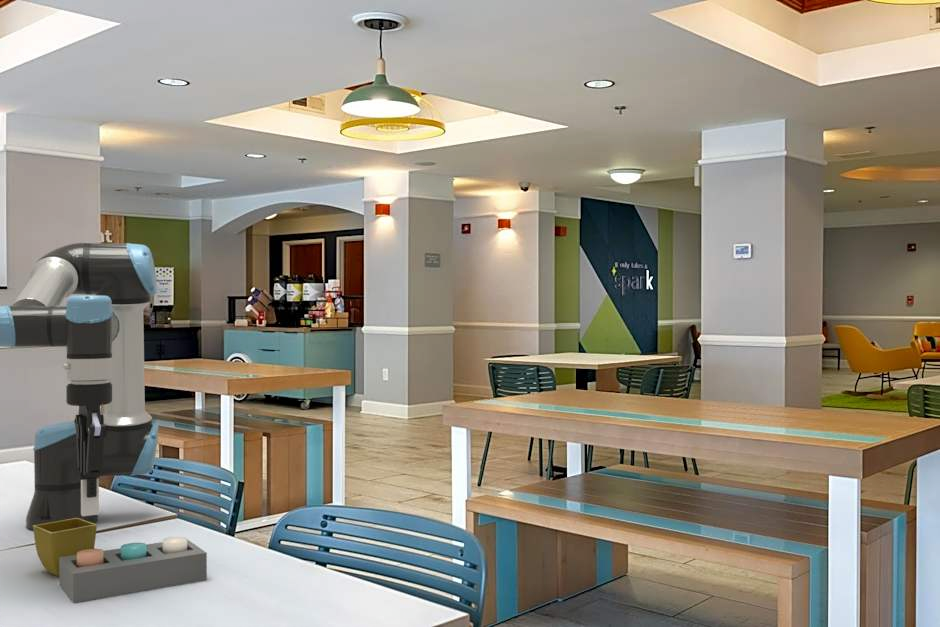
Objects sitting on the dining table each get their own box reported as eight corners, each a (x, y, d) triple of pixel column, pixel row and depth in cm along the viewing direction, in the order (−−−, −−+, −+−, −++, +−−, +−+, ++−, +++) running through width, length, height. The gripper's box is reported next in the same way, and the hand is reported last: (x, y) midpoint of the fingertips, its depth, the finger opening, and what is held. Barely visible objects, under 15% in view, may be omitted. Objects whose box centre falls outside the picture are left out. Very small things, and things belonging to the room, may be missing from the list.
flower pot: (32, 572, 173) (31, 524, 172) (77, 562, 179) (77, 516, 179) (51, 581, 167) (51, 532, 166) (98, 571, 173) (98, 524, 173)
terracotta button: (74, 569, 163) (74, 551, 162) (100, 565, 165) (100, 547, 165) (79, 575, 159) (79, 557, 159) (106, 571, 161) (106, 553, 161)
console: (59, 584, 165) (59, 557, 165) (186, 564, 178) (186, 538, 178) (73, 603, 155) (73, 573, 155) (206, 579, 168) (206, 552, 168)
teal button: (118, 562, 167) (118, 544, 167) (142, 558, 169) (142, 541, 169) (124, 568, 163) (124, 550, 163) (149, 564, 166) (149, 546, 166)
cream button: (159, 555, 171) (159, 538, 171) (183, 552, 174) (183, 535, 174) (166, 561, 167) (166, 544, 167) (190, 557, 170) (190, 540, 170)
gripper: (59, 380, 165) (59, 510, 165) (74, 385, 154) (75, 524, 154) (103, 378, 169) (103, 505, 169) (120, 383, 158) (121, 518, 158)
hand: (89, 514), depth 162 cm, fingers closed
